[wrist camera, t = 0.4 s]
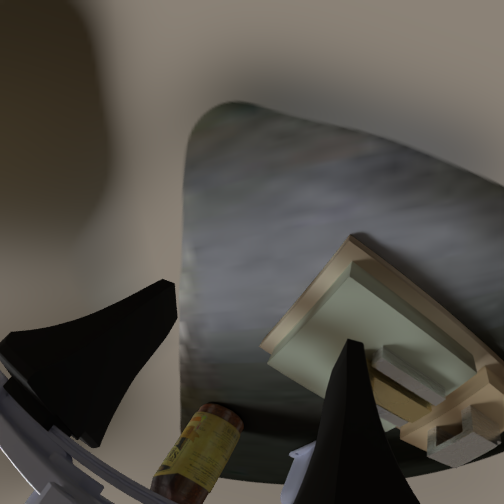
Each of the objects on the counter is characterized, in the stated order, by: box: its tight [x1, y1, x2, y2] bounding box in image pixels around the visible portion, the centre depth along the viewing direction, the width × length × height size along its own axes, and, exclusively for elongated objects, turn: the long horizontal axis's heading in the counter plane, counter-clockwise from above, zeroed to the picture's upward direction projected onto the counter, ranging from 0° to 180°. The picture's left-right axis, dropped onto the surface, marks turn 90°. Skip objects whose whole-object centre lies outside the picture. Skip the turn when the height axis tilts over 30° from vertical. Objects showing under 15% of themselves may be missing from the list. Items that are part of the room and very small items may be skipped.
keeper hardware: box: [372, 346, 501, 468], centre depth 17 cm, size 5×17×3 cm, turn 61°
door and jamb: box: [259, 235, 504, 451], centre depth 20 cm, size 12×26×3 cm, turn 62°
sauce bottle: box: [150, 403, 244, 504], centre depth 26 cm, size 6×6×20 cm
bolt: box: [366, 358, 432, 423], centre depth 17 cm, size 2×8×4 cm, turn 61°
